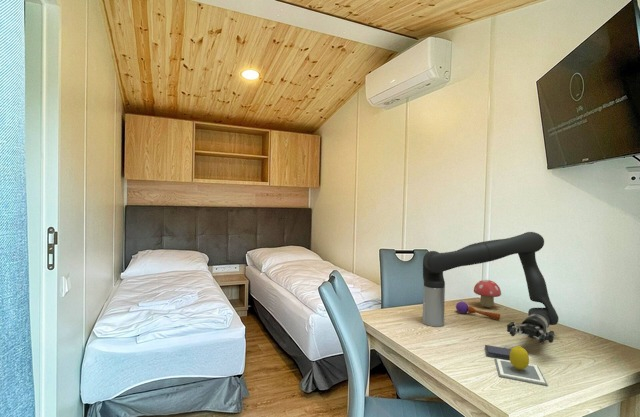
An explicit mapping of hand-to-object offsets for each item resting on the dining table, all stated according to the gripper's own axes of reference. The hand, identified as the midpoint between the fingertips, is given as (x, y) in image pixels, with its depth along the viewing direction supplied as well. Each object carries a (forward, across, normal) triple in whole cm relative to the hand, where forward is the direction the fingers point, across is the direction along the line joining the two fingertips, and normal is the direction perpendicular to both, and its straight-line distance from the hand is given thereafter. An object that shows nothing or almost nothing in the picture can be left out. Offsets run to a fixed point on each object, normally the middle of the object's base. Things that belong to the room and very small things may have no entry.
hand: (525, 337), depth 116 cm
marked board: (+11, 0, +8) cm, 14 cm away
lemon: (+11, 0, +8) cm, 13 cm away
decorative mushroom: (-58, -29, +8) cm, 66 cm away
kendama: (-39, -28, +9) cm, 49 cm away
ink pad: (+1, -8, +8) cm, 11 cm away
